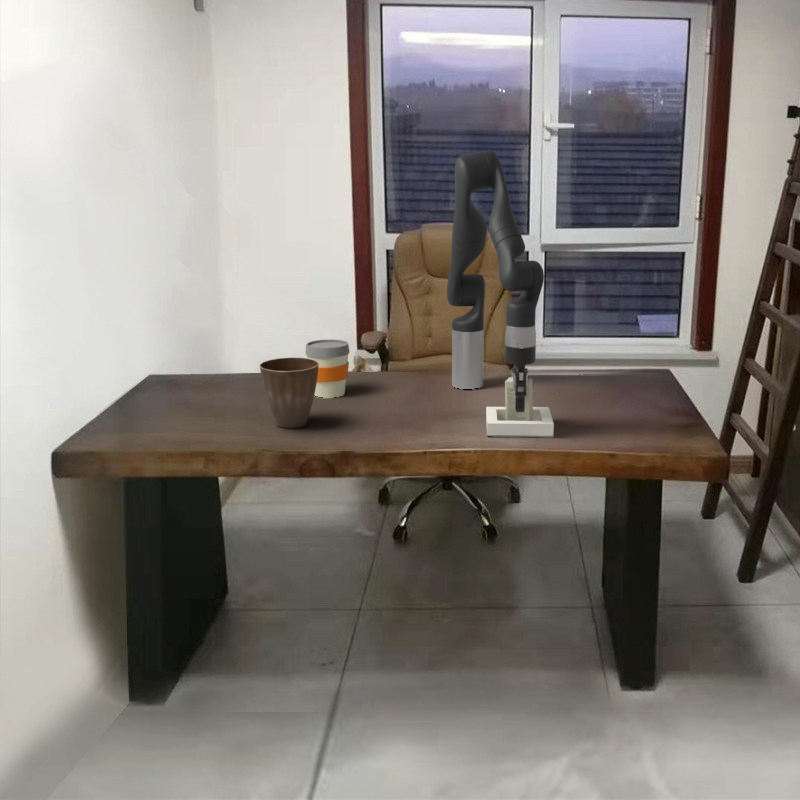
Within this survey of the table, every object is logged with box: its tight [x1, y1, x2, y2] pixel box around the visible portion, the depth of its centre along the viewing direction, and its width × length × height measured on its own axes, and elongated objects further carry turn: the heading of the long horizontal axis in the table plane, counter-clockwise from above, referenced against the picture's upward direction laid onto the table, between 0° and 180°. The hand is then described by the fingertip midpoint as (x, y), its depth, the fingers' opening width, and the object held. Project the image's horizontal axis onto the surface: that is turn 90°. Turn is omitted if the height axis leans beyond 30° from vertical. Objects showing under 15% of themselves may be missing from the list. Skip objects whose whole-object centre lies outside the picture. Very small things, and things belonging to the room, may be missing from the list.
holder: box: [485, 406, 555, 439], centre depth 226 cm, size 15×16×4 cm
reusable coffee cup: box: [305, 339, 350, 399], centre depth 260 cm, size 13×13×15 cm
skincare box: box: [504, 376, 534, 421], centre depth 225 cm, size 6×4×12 cm
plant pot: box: [259, 357, 319, 429], centre depth 231 cm, size 15×15×16 cm
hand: (519, 406), depth 225 cm, fingers open, 8 cm apart
